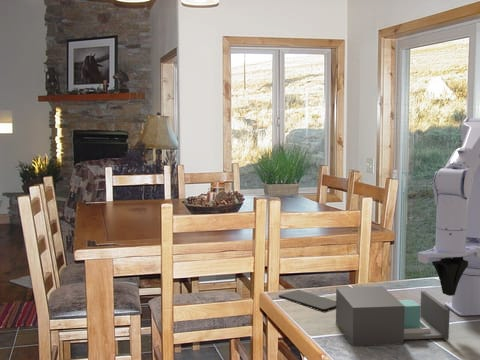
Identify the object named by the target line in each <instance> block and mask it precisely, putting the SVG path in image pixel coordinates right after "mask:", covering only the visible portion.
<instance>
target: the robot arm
mask: <svg viewBox="0 0 480 360" xmlns="http://www.w3.org/2000/svg"><path fill="white" fill-rule="evenodd" d="M460 128H461V129H460V138H461V141H462V144H461V147H458V148H457V149H455V150H454V151H453V152H452V154H451V156H450V158H449V159H448V161H447V162H446V164H445V166H444V167H441V168H439V170H436V171H435V173H434V176H433V181H432V189H433V190H432V191H433V195H434V201H433V202H434V205H435V206H436V216H435V217H436V219H435V243H434V244H435V245H434V246H433V247H432V248H430V249H427V250H423V251H418V252H417V262H419V263H421V264H429V263H431V264H432V265H433V267H434V270H435V271H436V273H437V275H438V280H439V282H440V286H441V292H442V294H444V295H446V296H448V297H449V296H450V297H451V301H448V302H447V301H446V302H444V304H443V305H444V306H445V307H447V308H448V309H449V310H451V311H453V312H454V313H455V314H456V315H458V316H462V317H463V316H480V117H479V118H478V117H477V118H475V117H474V118H472V117H466V118H465V119H464V120H462V122H461V127H460Z"/></svg>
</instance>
